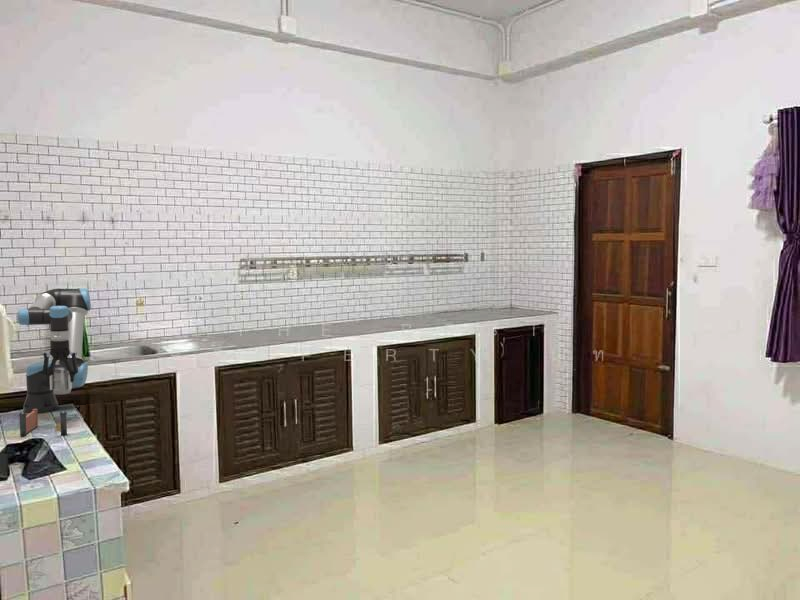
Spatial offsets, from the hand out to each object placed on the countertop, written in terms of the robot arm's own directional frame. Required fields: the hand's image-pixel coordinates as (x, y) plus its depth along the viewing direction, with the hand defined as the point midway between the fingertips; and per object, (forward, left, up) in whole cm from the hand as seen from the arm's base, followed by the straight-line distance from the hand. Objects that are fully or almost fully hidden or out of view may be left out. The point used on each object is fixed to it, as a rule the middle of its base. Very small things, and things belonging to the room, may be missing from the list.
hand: (61, 389), depth 302 cm
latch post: (+21, +7, -15) cm, 27 cm away
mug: (0, +1, -2) cm, 2 cm away
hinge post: (+21, -9, -16) cm, 28 cm away
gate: (+13, -9, -15) cm, 22 cm away
